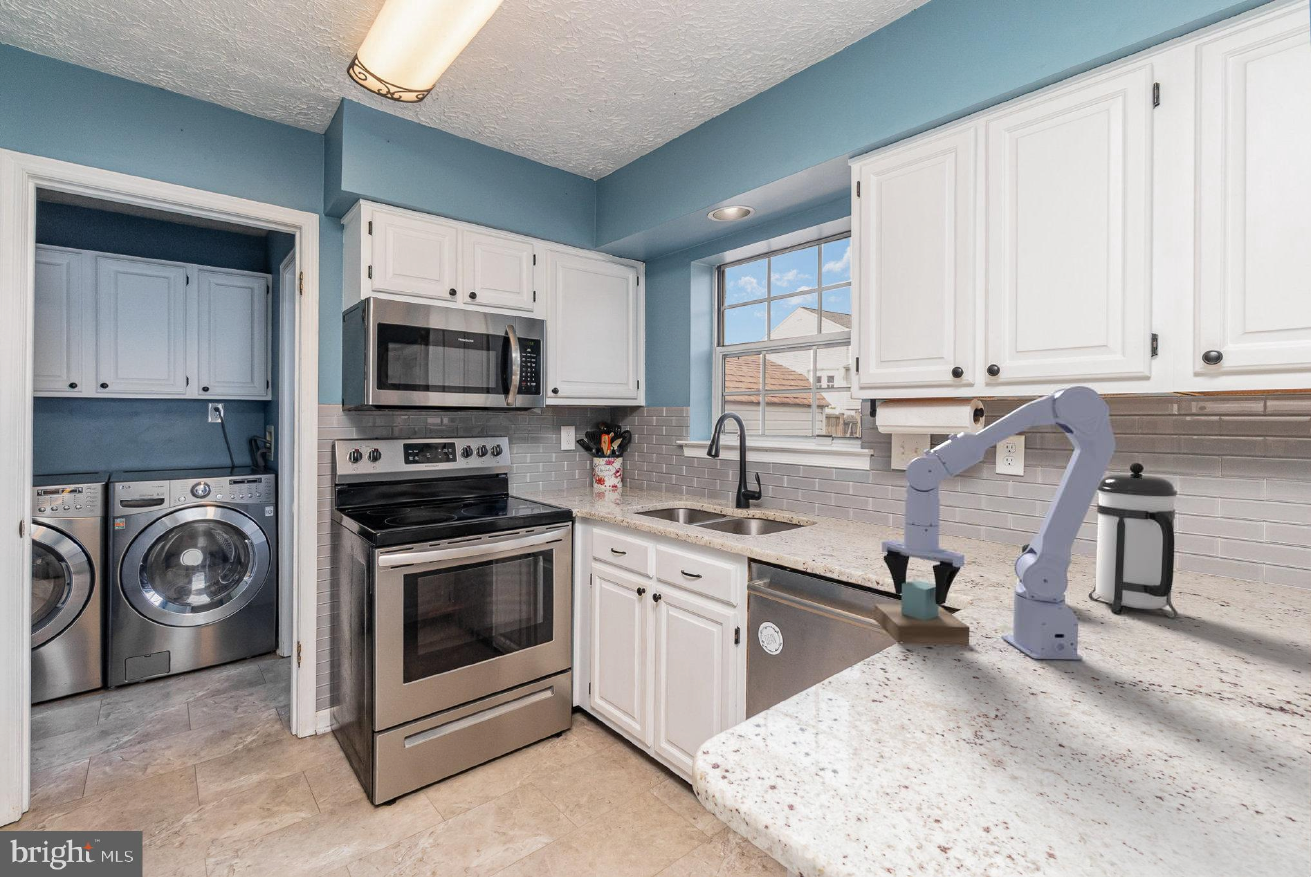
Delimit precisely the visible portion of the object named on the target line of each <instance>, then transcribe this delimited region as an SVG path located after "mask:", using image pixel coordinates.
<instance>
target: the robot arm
mask: <svg viewBox="0 0 1311 877" xmlns="http://www.w3.org/2000/svg"><path fill="white" fill-rule="evenodd" d="M1044 425H1045V426H1047V425H1055V426H1057V427H1058V428H1059V429H1061V430H1062V431H1063V432H1064V434H1065V435H1066V436H1067V439H1068V440H1069V441H1070V443H1071V444H1072V446H1073V447H1074V451H1073V452H1072V455H1071V456H1070V459H1069V461H1068V464H1067V467H1066V469H1065V471H1064V472H1063V475H1062V478H1061V479H1060V483H1059V485H1058V487H1057V489H1056V491H1055V494H1054V496H1053V498H1052V500H1051V503H1050V506H1049V508H1048V510H1047V512H1046V515H1045V517H1044V519H1043V522H1042V524H1041V526H1040V528H1039V531H1038V533H1037V534H1036V536H1035V537H1033V539H1031V541H1030V543H1029V544H1030V545H1029V547H1028V549H1027V550H1026V551H1025V552H1024V553H1022V552H1021V553H1020V555H1019V556H1018V557H1017V558H1016V559H1015V562H1014V565H1013V566H1014V568H1013V569H1014V573H1015V575H1016V576H1017V577H1018V578H1019V579H1020V580H1021V582H1020V583H1019V585H1018V586H1017V585H1016V587H1015V588H1014V589H1013V590H1014V594H1013V595H1014V596H1013V597H1014V598H1013V625H1012V627H1013V628H1012V634H1002V635H1001V638H1002V639H1003V640H1005V641H1006V642H1008V643H1009V644H1011V645H1012V646H1013V647H1015V648H1016V649H1018V650H1020V651H1021V652H1022V653H1024V654H1026V655H1027V656H1029V657H1030V658H1031V659H1035V660H1083V656H1082V654H1081V655H1080V654H1079V653H1078V644H1079V641H1078V640H1079V639H1078V638H1079V620H1078V616H1077V615H1076V613H1075V612H1074V611H1073V610H1072V609H1070V608H1069V607H1068V605H1067V604H1066V594H1065V593H1066V591H1067V588H1068V585H1069V579H1068V569H1069V568H1070V567H1069V566H1070V565H1071V560H1072V559H1071V557H1072V547H1073V544H1074V542H1075V540H1076V538H1077V536H1078V534H1079V531H1080V529H1081V526H1082V524H1083V523H1084V520H1085V518H1086V515H1087V514H1088V510H1089V509H1090V507H1091V504H1092V502H1093V500H1094V497H1095V495H1096V493H1097V492H1098V490H1097V489H1098V486H1099V485H1100V482H1101V480H1102V479H1103V478H1104V474H1105V473H1106V470H1107V468H1108V466H1109V464H1110V462H1111V460H1112V456H1113V455H1114V452H1115V450H1116V446H1117V445H1116V440H1115V436H1114V432H1113V427H1112V424H1111V419H1110V406H1109V405H1108V404H1107V403H1106V402H1105V400H1104V399H1103V398H1102V397H1101V396H1100V394H1099V393H1098V392H1097V391H1095V389H1092V388H1091V387H1089V386H1083V385H1076V386H1071V387H1068V388H1061V389H1057V390H1054V391H1053V392H1051V394H1048V395H1044V396H1042V397H1039V398H1037V399H1035V400H1032V401H1029V402H1027V403H1025V404H1023V405H1022V406H1020V407H1018V408H1016V409H1015V410H1013V411H1011V412H1009V413H1008V414H1006V415H1004V416H1003V417H1001V418H999V419H998V420H996V421H994V422H993V423H991V424H990V425H988V426H985V427H984V428H983V429H982V430H980V431H978V432H976V433H969V432H965V431H964V432H963V431H962V432H961V433H959V434H957V433H955V432H953V433H952V434H950V435H948V440H947V441H944V442H943V443H941V444H939V445H937V446H936V447H934V448H933V449H929V448H927V449H925V450H923V453H924V455H925V456H917V457H916V458H913V459H912V460H910V462H909V463H908V465H906V470H904V471H905V473H904V474H905V477H906V480H907V482H908V483H907V485H906V489H905V490H906V491H905V492H906V496H905V498H904V501H905V502H904V541H903V542H902V541H901V542H900V541H893V540H883V541H882V542H881V552H882V553H883V552H884V553H886V555H883V556H882V557H883V561H884V563H885V564H886V566H887V569H888V570H889V574H890V575H891V579H892V582H893V586H894V591H895V595H896V594H897V595H902V584H903V583H907V571H908V566H909V565H908V564H909V560H910V558H911V557H912V558H917V559H921V560H926V561H931V562H936V563H937V564H934V565H932V572H933V575H934V583H935V584H934V585H936V590H935V602H936V604H937V605H939V606H942V605H945V604H946V601H947V597H948V594H949V591H950V588H951V586H952V583H953V582H954V580H955V578H956V577H957V575H958V574H959V572H960V571H961V568H962V567H965V554H961V553H957V552H953V551H951V550H946V549H942V548H939V546H940V518H941V517H940V516H941V515H940V514H941V512H940V511H941V510H940V509H941V508H940V507H941V506H940V505H941V499H940V498H939V494H940V493H939V489H940V487H939V486H940V484H941V483H942V481H943V478H948V479H950V478H952V477H954V476H956V475H957V474H959V473H961V472H963V471H965V470H966V469H968V468H970V467H972V466H974V465H975V464H978V463H979V462H980V463H981V461H983V460H984V456H985V452H986V450H987V449H989V448H991V447H992V446H995V445H997V444H999V443H1001V442H1003V441H1005V440H1007V439H1008V438H1011V437H1013V436H1014V435H1016V434H1019V433H1021V432H1022V431H1024V430H1026V429H1028V428H1030V427H1034V426H1044ZM938 563H939V564H938ZM1017 577H1016V578H1017Z"/></svg>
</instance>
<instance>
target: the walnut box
mask: <svg viewBox="0 0 1311 877" xmlns="http://www.w3.org/2000/svg"><path fill="white" fill-rule="evenodd" d="M901 605H902V603H901V604H897V603H895V604H891V603H888V604H886V603H874V611H873V612H874V614H873V615H874V618H873V619H874V621H875V622H876V623H877V624H878V625H879V626H880V627H881V628H882V629H883V630H884V631H885V632H886V633H887V634H888V635H889V636H890V637H892V639H894V641H895V642H897V643H898V644H901V643H900V642H903V643H902V644H918V645H919V644H920V645H921V644H922V645H924V644H925V645H926V644H927V645H928V644H930V645H970V626H969V625H967V624H965V623H964V622H963V621H962V620H960V619H959V618H957V617H956V616H955V615H953V614H952V613H950V612H949V611H947V610H946V609H945V608H943V607H941V605H939V608H938V616H936V617H933V618H931V619H928V620H925V621H924V620H921V619H918V618H914V617H911V616H908V615H904V614H901Z"/></svg>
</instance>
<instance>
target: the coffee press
mask: <svg viewBox="0 0 1311 877" xmlns="http://www.w3.org/2000/svg"><path fill="white" fill-rule="evenodd" d="M1128 468H1129V471H1130V472H1131V473H1130V474H1112V475H1108V476H1106V477H1103V478H1102V480H1101V482H1100V484H1099V486H1098V489H1097V492H1098V503H1097V504H1096V512H1097V513H1098V514H1097V533H1096V535H1097V536H1096V556H1095V557H1096V558H1095V559H1096V562H1095V579H1094V580H1095V583H1094V588H1093V589H1092V591H1091V592H1089V594H1088V599H1089V600H1091V601H1095V600H1099V599H1102V600H1104V601H1106V602H1109V603H1111V609H1110V610H1111V614H1117V615H1122V613H1123V611H1124V609H1125V608H1126V607H1128V608H1134V609H1135V608H1136V609H1145V610H1158V611H1160V612H1161V613H1162V614H1164V615H1165V617H1167V618H1168V619H1174V618H1177V617H1178V616H1179V612H1178V611H1177V610H1176V608H1175V607H1174V605H1173V603H1172V587H1173V583H1174V582H1173V581H1174V567H1175V565H1174V564H1175V531H1174V530H1175V524H1174V523H1175V522H1174V520H1175V519H1176V509H1175V498H1176V497H1177V495H1178V491H1177V489H1176V490H1175V487H1174V485H1173V483H1171V481H1170V480H1167V479H1166V478H1162V477H1159V476H1152V475H1143V474H1142V472H1143V471H1144V469H1145V468H1144V466H1143V464H1141V463H1140V462H1134V463H1132V464H1130V466H1129V467H1128ZM1094 593H1096V595H1097V596H1098V597H1096V598H1095V597H1094V596H1093V594H1094ZM1167 606H1168V607H1169V609H1170V610H1171V611H1172V613H1173V614H1174V615H1173V616H1172V615H1171V614H1170V613H1169V612H1168V611H1167V610H1166V609H1164V608H1165V607H1167Z"/></svg>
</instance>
